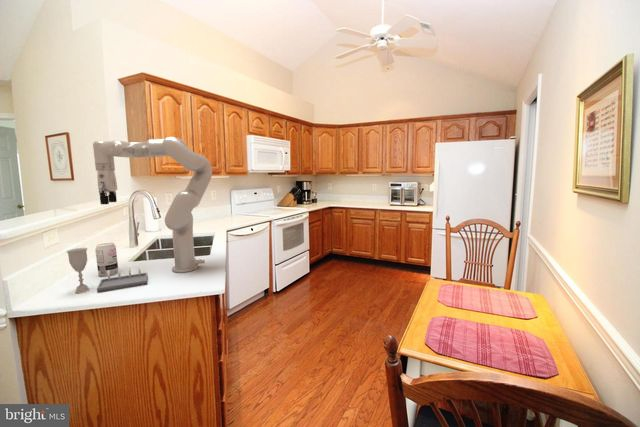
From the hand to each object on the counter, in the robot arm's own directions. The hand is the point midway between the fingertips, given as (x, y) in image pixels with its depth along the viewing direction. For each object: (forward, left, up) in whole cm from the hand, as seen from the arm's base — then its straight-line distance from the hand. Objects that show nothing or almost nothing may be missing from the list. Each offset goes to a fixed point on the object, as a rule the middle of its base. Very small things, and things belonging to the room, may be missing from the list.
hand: (109, 203), depth 145 cm
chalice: (+10, +21, -35) cm, 42 cm away
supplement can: (+3, +1, -35) cm, 35 cm away
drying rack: (-5, +21, -35) cm, 41 cm away
